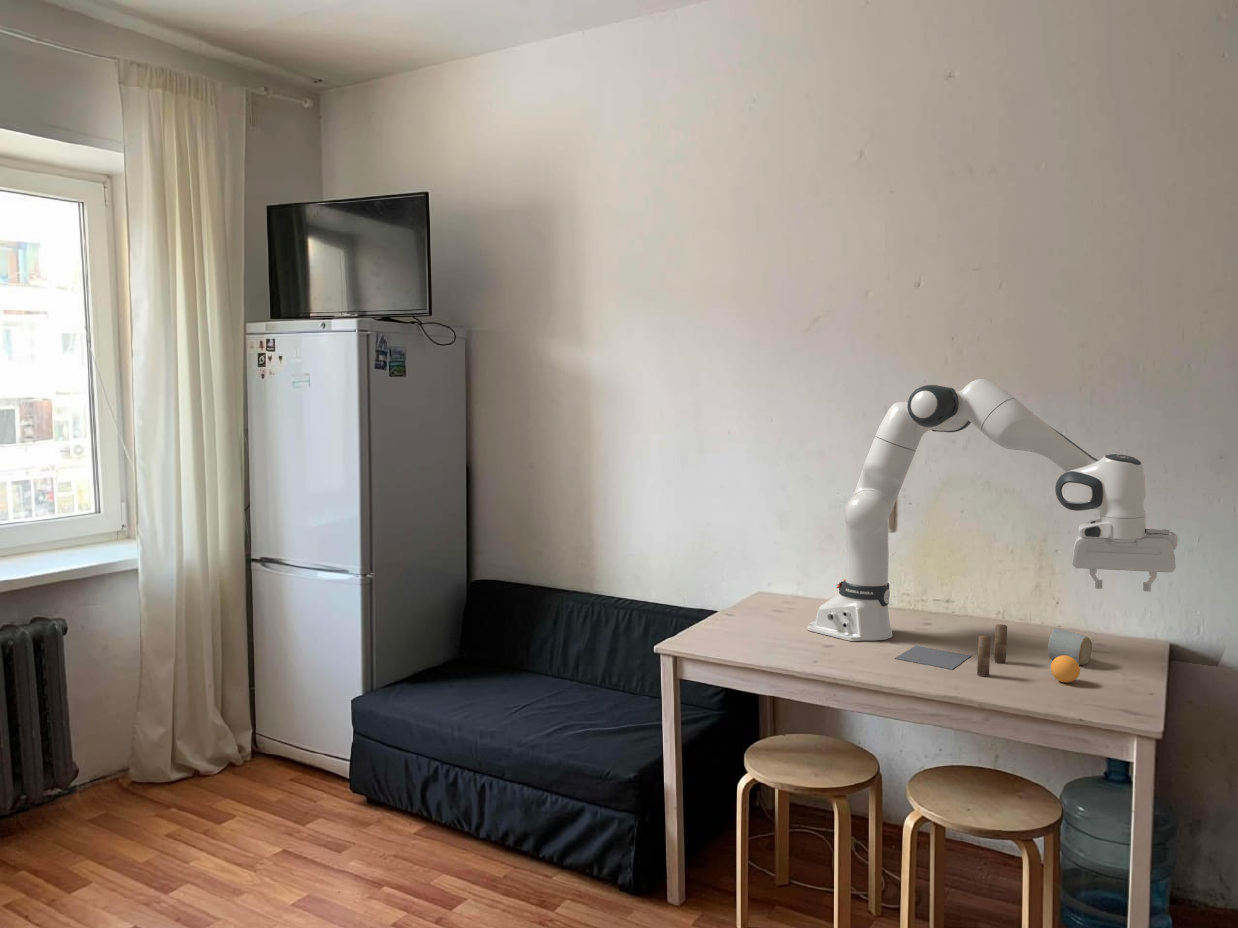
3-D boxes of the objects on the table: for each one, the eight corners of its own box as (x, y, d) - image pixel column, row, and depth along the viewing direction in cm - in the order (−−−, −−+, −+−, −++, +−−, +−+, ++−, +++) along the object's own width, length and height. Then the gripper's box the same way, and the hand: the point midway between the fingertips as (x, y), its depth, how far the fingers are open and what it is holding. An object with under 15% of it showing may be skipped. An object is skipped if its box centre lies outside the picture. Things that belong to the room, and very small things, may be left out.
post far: (992, 662, 225) (994, 625, 224) (996, 659, 227) (997, 623, 226) (1003, 664, 223) (1005, 627, 223) (1007, 661, 225) (1008, 625, 225)
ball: (1047, 682, 210) (1048, 656, 209) (1053, 675, 214) (1054, 650, 214) (1076, 687, 206) (1077, 661, 205) (1082, 681, 211) (1083, 655, 210)
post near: (975, 675, 215) (977, 637, 214) (979, 672, 217) (980, 634, 216) (987, 677, 213) (988, 639, 212) (990, 674, 215) (992, 636, 214)
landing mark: (894, 658, 228) (894, 657, 228) (915, 646, 238) (915, 645, 238) (952, 669, 219) (952, 668, 219) (971, 656, 230) (971, 655, 230)
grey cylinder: (1081, 669, 220) (1083, 637, 219) (1046, 661, 226) (1047, 630, 225) (1097, 660, 227) (1099, 630, 227) (1063, 653, 233) (1064, 623, 233)
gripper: (1176, 527, 203) (1176, 589, 204) (1072, 524, 213) (1072, 583, 214) (1178, 532, 197) (1178, 595, 199) (1071, 529, 207) (1071, 589, 208)
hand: (1122, 589), depth 206 cm, fingers open, 8 cm apart
